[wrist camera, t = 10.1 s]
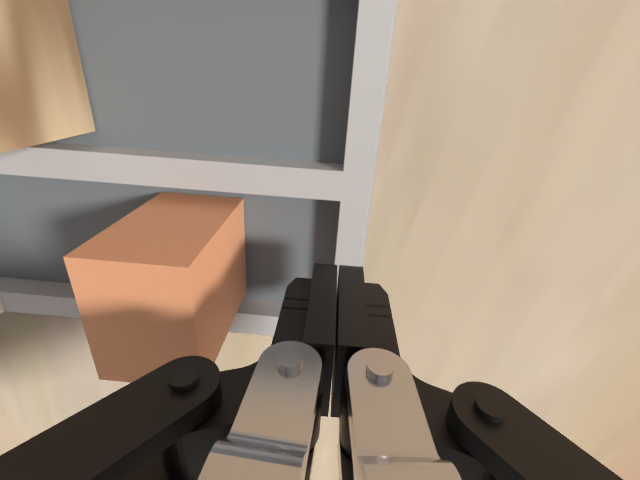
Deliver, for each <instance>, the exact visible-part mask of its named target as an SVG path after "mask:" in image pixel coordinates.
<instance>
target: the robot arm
mask: <svg viewBox="0 0 640 480" xmlns="http://www.w3.org/2000/svg"><path fill="white" fill-rule="evenodd" d="M331 380H332V394H331V417H339V418H340V419H339V440H338V468H339V480H623V479H621V478H620V477H619V476H617V475H616V474H615V473H613V472H612V471H611V470H609V469H608V468H607V467H605V466H604V465H603V464H601V463H600V462H599V461H597V460H596V459H595V458H593V457H592V456H590V455H589V454H588V453H586V452H585V451H584V450H582V449H581V448H580V447H578V446H577V445H576V444H574V443H573V442H572V441H570V440H569V439H568V438H566V437H565V436H564V435H562V434H561V433H560V432H558V431H557V430H555V429H554V428H553V427H551V426H550V425H549V424H547V423H546V422H545V421H543V420H542V419H541V418H539V417H538V416H537V415H535V414H534V413H533V412H531V411H530V410H529V409H527V408H526V407H525V406H523V405H522V404H520V403H519V402H518V401H516V400H515V399H514V398H512V397H511V396H510V395H508V394H507V393H505V392H504V391H502V390H501V389H499V388H497V387H495V386H492V385H490V384H486V383H482V382H466V383H463V384H461V385H459V386H458V387H457V388H456V389H455V390H454V392H453V393H452V392H449V391H446V390H443V389H440V388H438V387H435V386H432V385H429V384H427V383H425V382H423V381H421V380H419V379H418V378H416V377H415V376H414V375H413V374H412V373H411V370H410V368H409V366H408V365H407V363H406V362H405V361H404V360H403V359H402V358H400V354H399V349H398V344H397V339H396V333H395V328H394V323H393V318H392V313H391V308H390V303H389V298H388V294H387V293H386V292H385V291H384V289H383V288H382V287H381V286H380V285H379V284H373V283H364V273H363V267H360V266H348V265H339V273H338V284H337V265H334V264H322V263H314V269H313V276H312V279H310V278H298V277H296V278H295V279H294V280H293V281H292V282H291V283H290V284H289V285H288V286H287V288H286V292H285V295H284V299H283V303H282V307H281V310H280V314H279V318H278V322H277V326H276V329H275V333H274V337H273V341H272V344H271V346H270V347H268V348H267V349H266V350H265V351H264V352H263V353H262V354H261V356H260V358H259V360H258V361H257V362H256V363H254V364H251V365H249V366H246V367H243V368H238V369H232V370H227V371H221V372H219V369H218V367H217V365H216V364H215V363H214V362H213V361H211V360H210V359H208V358H205V357H202V356H184V357H180V358H177V359H174V360H172V361H170V362H168V363H166V364H164V365H162V366H160V367H159V368H157V369H155V370H153V371H151V372H150V373H148V374H146V375H144V376H142V377H141V378H139V379H137V380H135V381H133V382H132V383H130V384H128V385H126V386H125V387H123V388H121V389H119V390H117V391H116V392H114V393H112V394H110V395H108V396H107V397H105V398H103V399H101V400H99V401H98V402H96V403H94V404H92V405H90V406H89V407H87V408H85V409H83V410H81V411H80V412H78V413H76V414H74V415H72V416H71V417H69V418H67V419H65V420H63V421H62V422H60V423H58V424H56V425H54V426H53V427H51V428H49V429H47V430H46V431H44V432H42V433H40V434H38V435H37V436H35V437H33V438H31V439H29V440H28V441H26V442H24V443H22V444H20V445H19V446H17V447H15V448H13V449H11V450H10V451H8V452H6V453H4V454H2V455H1V456H0V480H310V479H311V473H312V466H313V460H314V453H315V445H316V442H317V440H318V437H319V431H320V419H321V416H327V417H328V411H329V401H330V390H331Z"/></svg>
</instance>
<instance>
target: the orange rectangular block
mask: <svg viewBox="0 0 640 480" xmlns="http://www.w3.org/2000/svg"><path fill="white" fill-rule="evenodd" d="M63 258H64V262H65V265H66V268H67V272H68V275H69V279H70V282H71V285H72V289H73V292H74V295H75V299H76V302H77V306H78V309H79V312H80V316H81V319H82V322H83V326H84V329H85V333H86V336H87V339H88V343H89V346H90V349H91V353H92V356H93V360H94V363H95V366H96V370H97V373H98V376H99V379H102V380H112V381H122V382H133V381H135V380H137V379H139V378H141V377H142V376H144V375H146V374H148V373H150V372H151V371H153V370H155V369H157V368H159V367H160V366H162V365H164V364H166V363H168V362H170V361H172V360H174V359H177V358H180V357H184V356H202V357H205V358H208V359H210V360H211V361H213V362H214V363H215V360H216V358H217V356H218V354H219V351H220V349H221V347H222V345H223V342H224V340H225V338H226V336H227V333H228V331H229V329H230V327H231V324H232V322H233V320H234V318H235V315H236V313H237V311H238V309H239V307H240V304H241V302H242V300H243V298H244V295H245V293H246V291H247V283H246V255H245V227H244V198H233V197H220V196H208V195H195V194H183V193H170V192H161V193H160V194H158V195H157V196H155V197H154V198H152V199H151V200H149V201H148V202H146V203H145V204H143V205H142V206H140V207H138V208H137V209H135V210H134V211H132V212H131V213H129V214H128V215H126V216H125V217H123V218H122V219H120V220H119V221H117V222H116V223H114V224H113V225H111V226H110V227H108V228H106V229H105V230H103V231H102V232H100V233H99V234H97V235H96V236H94V237H93V238H91V239H90V240H88V241H87V242H85V243H84V244H82V245H81V246H79V247H78V248H76V249H74V250H73V251H71V252H70V253H68V254H67V255H65V256H64V257H63Z"/></svg>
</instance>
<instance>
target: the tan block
mask: <svg viewBox="0 0 640 480" xmlns="http://www.w3.org/2000/svg"><path fill="white" fill-rule="evenodd" d="M94 131H95V126H94V121H93V116H92V112H91V107H90V102H89V98H88V93H87V88H86V83H85V79H84V74H83V69H82V64H81V60H80V55H79V50H78V46H77V41H76V36H75V31H74V27H73V22H72V17H71V12H70V8H69V3H68V0H0V154H1V153H5V152H9V151H13V150H18V149H22V148H26V147H30V146H35V145H39V144H43V143H47V142H52V141H56V140H60V139H64V138H69V137H73V136H77V135H81V134H86V133H90V132H94Z"/></svg>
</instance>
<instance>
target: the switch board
mask: <svg viewBox="0 0 640 480" xmlns="http://www.w3.org/2000/svg"><path fill="white" fill-rule="evenodd" d="M68 3H69V8H70V12H71V17H72V22H73V27H74V31H75V36H76V41H77V46H78V50H79V55H80V60H81V64H82V69H83V74H84V79H85V83H86V88H87V93H88V98H89V102H90V107H91V112H92V116H93V121H94V126H95V131H94V132H90V133H86V134H81V135H77V136H73V137H69V138H64V139H60V140H56V141H52V142H47V143H43V144H39V145H35V146H30V147H26V148H22V149H18V150H13V151H9V152H5V153H1V154H0V313H4V312H15V313H26V314H37V315H48V316H59V317H70V318H81V316H80V312H79V309H78V306H77V302H76V299H75V295H74V292H73V289H72V285H71V282H70V279H69V275H68V272H67V268H66V265H65V262H64V258H63V257H64V256H65V255H67V254H68V253H70V252H71V251H73V250H74V249H76V248H78V247H79V246H81V245H82V244H84V243H85V242H87V241H88V240H90V239H91V238H93V237H94V236H96V235H97V234H99V233H100V232H102V231H103V230H105V229H106V228H108V227H110V226H111V225H113V224H114V223H116V222H117V221H119V220H120V219H122V218H123V217H125V216H126V215H128V214H129V213H131V212H132V211H134V210H135V209H137V208H138V207H140V206H142V205H143V204H145V203H146V202H148V201H149V200H151V199H152V198H154V197H155V196H157V195H158V194H160V193H161V192H170V193H183V194H195V195H208V196H220V197H233V198H244V227H245V255H246V283H247V291H246V293H245V295H244V298H243V300H242V302H241V304H240V307H239V309H238V311H237V313H236V315H235V318H234V320H233V322H232V324H231V327H230V329H229V331H228V332H234V333H245V334H256V335H267V336H274V333H275V329H276V326H277V322H278V318H279V314H280V310H281V307H282V303H283V299H284V295H285V292H286V288H287V286H288V285H289V284H290V283H291V282H292V281H293V280H294V279H295V278H296V277H298V278H310V279H312V276H313V269H314V263H322V264H334V265H337V284H338V273H339V265H348V266H360V267H362V266H363V259H364V251H365V244H366V236H367V229H368V221H369V214H370V206H371V199H372V191H373V184H374V176H375V169H376V162H377V154H378V147H379V139H380V132H381V124H382V117H383V109H384V102H385V94H386V87H387V79H388V72H389V64H390V57H391V49H392V42H393V34H394V27H395V19H396V12H397V4H398V0H68Z"/></svg>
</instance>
